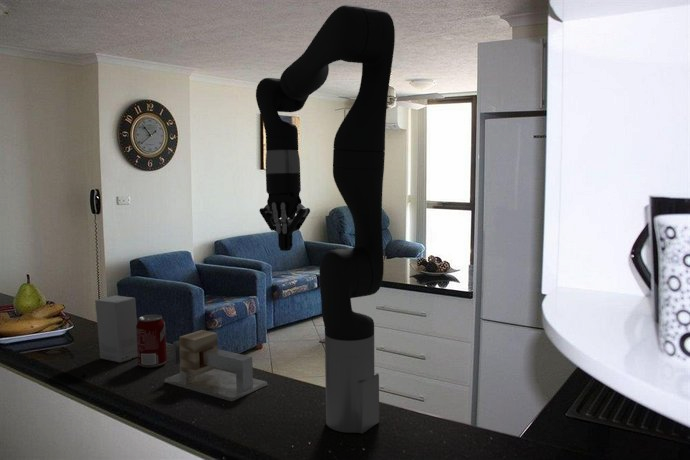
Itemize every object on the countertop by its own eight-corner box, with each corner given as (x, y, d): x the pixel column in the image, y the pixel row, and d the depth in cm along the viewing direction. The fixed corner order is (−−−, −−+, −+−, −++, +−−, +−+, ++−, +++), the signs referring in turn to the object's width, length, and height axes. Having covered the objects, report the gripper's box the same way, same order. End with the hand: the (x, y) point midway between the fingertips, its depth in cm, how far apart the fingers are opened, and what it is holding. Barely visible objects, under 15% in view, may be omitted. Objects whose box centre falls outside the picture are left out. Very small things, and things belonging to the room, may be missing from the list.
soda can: (158, 370, 143) (156, 321, 142) (132, 368, 145) (130, 320, 144) (171, 361, 150) (169, 314, 149) (147, 359, 151) (145, 313, 150)
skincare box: (140, 356, 154) (137, 297, 152) (118, 364, 148) (115, 302, 147) (119, 351, 158) (116, 294, 157) (97, 358, 153) (94, 298, 151)
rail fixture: (267, 385, 133) (266, 348, 132) (231, 401, 123) (230, 361, 123) (200, 368, 144) (199, 334, 144) (163, 381, 135) (162, 345, 134)
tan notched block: (218, 367, 138) (217, 332, 137) (195, 375, 132) (194, 340, 131) (203, 363, 141) (202, 329, 140) (180, 371, 135) (179, 336, 134)
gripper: (317, 170, 130) (319, 249, 131) (270, 172, 137) (273, 247, 138) (296, 170, 123) (299, 253, 125) (248, 172, 131) (251, 250, 132)
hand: (285, 250), depth 132 cm, fingers closed
